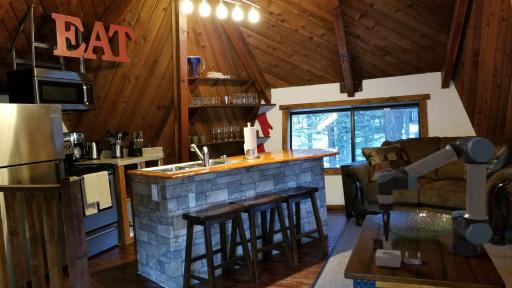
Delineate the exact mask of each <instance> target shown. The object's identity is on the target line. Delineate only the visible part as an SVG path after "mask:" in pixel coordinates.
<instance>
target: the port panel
mask: <svg viewBox="0 0 512 288" xmlns="http://www.w3.org/2000/svg"><path fill="white" fill-rule="evenodd" d="M374 258H375V266H379V267H393V268H401V264H402V253H401V250H393V249H391V250H379V249H377V250H376V251H375V257H374Z"/></svg>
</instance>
